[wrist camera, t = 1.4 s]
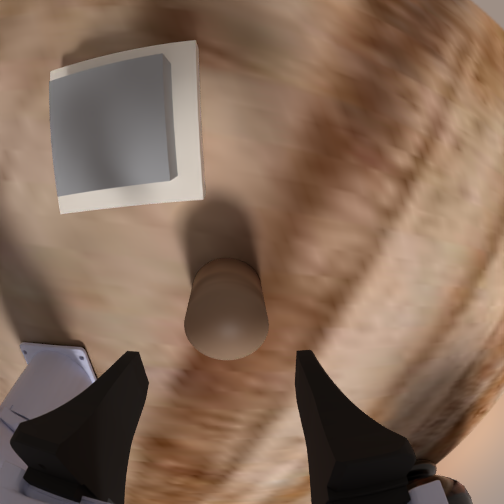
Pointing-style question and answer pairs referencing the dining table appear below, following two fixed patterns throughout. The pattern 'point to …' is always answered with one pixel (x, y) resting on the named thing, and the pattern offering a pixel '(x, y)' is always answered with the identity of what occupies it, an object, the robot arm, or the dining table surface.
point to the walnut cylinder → (226, 310)
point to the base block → (185, 130)
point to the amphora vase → (426, 473)
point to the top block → (113, 126)
